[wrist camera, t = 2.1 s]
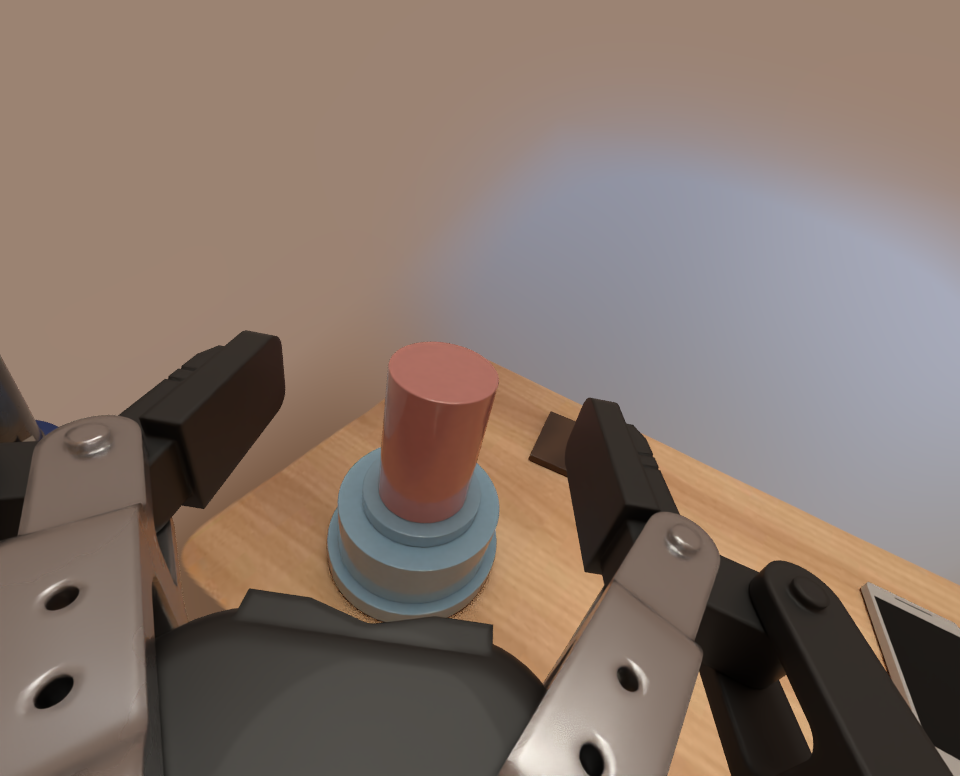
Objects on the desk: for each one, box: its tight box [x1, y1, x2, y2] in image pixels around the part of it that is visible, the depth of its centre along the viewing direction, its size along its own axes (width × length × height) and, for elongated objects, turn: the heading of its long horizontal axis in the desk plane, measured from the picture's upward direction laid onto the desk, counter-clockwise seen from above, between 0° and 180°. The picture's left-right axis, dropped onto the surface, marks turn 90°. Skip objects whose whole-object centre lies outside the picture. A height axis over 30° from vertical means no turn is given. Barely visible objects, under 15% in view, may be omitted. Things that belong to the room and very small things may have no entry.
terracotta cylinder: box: [378, 342, 499, 523], centre depth 26 cm, size 6×6×10 cm
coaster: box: [529, 412, 576, 476], centre depth 46 cm, size 9×9×1 cm
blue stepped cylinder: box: [327, 447, 499, 622], centre depth 31 cm, size 13×13×7 cm
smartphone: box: [861, 582, 960, 776], centre depth 31 cm, size 7×16×1 cm, turn 152°
